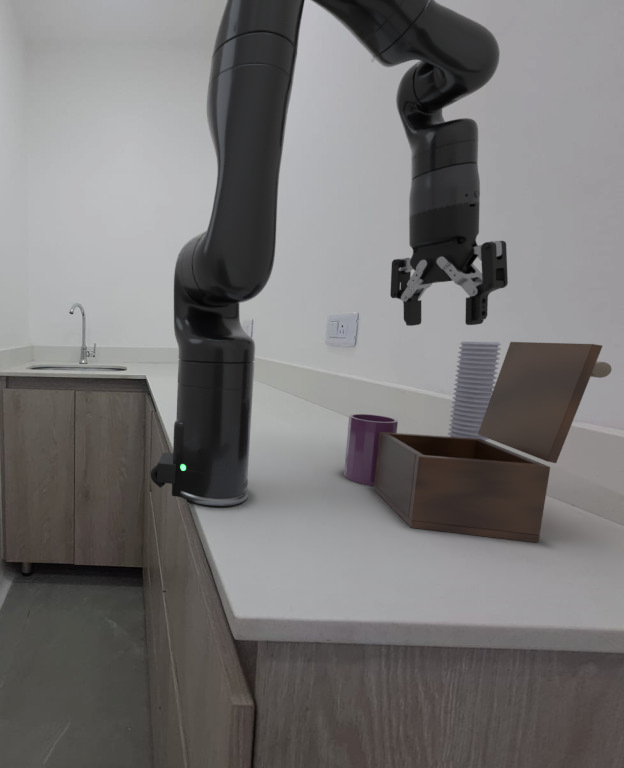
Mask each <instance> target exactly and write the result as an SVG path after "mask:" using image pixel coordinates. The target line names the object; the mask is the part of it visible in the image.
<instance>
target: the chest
mask: <svg viewBox="0 0 624 768" xmlns="http://www.w3.org/2000/svg"><path fill="white" fill-rule="evenodd" d="M550 472H551V467H550V466H549V465H546V464H544V463H542V462H539V461H536V460H534V459H531V458H530V457H527V456H524V455H522V454H519V453H517V452H514V451H512V450H509V449H507V448H504V447H503V446H499V445H497V444H494V443H492V442H490V441H488V440H486V441H485V440H482V439H478V438H463V437H450V436H449V435H447V436H445V435H433V434H417V433H416V434H415V433H401V432H397V433H389V432H379V442H378V452H377V462H376V471H375V481H374V486H373V491H374V492H376V493H377V494H378V495H379V496H380V497H381V498H382V500H383V501H384V502H385V503H386V504H387V505H388V506H390V508H392V510H393V511H394V512H395V513H396V514H397V515H398V516H399V517H400V519H402V520H403V521H404V522H405V523H406V524H407V525H408V526H409V527H410V529H411V528H412V529H421V530H428V531H438V532H445V533H454V534H461V535H462V534H463V535H470V536H479V537H486V538H495V539H503V540H510V541H511V540H512V541H520V542H530V543H539V542H540V535H541V528H542V522H543V516H544V510H545V504H546V497H547V491H548V485H549V478H550Z"/></svg>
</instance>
